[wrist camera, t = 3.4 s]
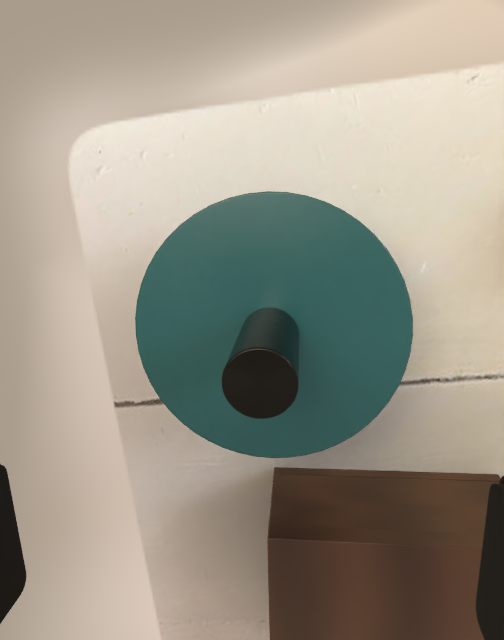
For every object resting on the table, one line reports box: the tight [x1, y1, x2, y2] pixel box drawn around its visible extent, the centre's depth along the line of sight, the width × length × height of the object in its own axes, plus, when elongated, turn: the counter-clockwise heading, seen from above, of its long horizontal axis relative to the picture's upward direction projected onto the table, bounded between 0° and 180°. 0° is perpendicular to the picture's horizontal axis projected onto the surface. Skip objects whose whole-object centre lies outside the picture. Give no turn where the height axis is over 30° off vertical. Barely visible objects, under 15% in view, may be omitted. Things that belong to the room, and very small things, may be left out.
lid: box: [135, 192, 413, 458], centre depth 19 cm, size 12×12×7 cm
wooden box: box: [268, 468, 501, 640], centre depth 31 cm, size 15×15×7 cm
